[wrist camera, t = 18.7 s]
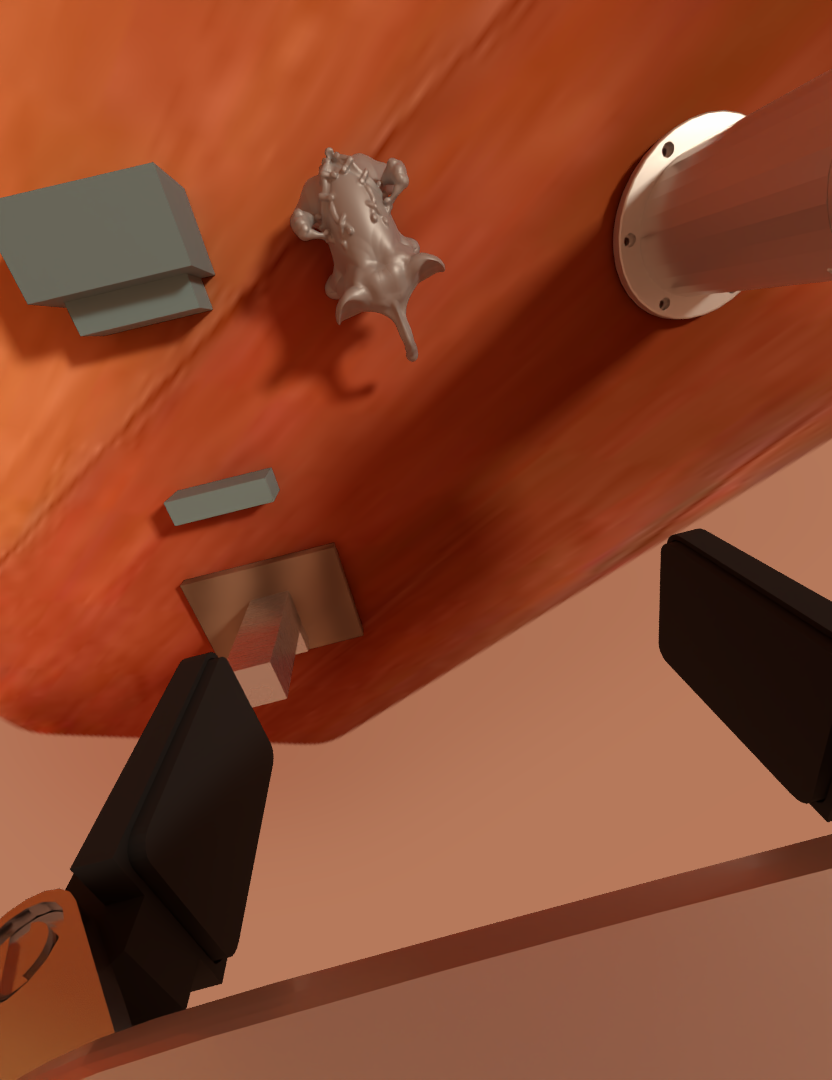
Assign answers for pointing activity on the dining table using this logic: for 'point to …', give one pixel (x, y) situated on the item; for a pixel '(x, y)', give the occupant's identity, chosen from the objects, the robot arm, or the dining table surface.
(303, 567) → the walnut board
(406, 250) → the grey monster figurine
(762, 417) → the dining table surface
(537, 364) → the dining table surface
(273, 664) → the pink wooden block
